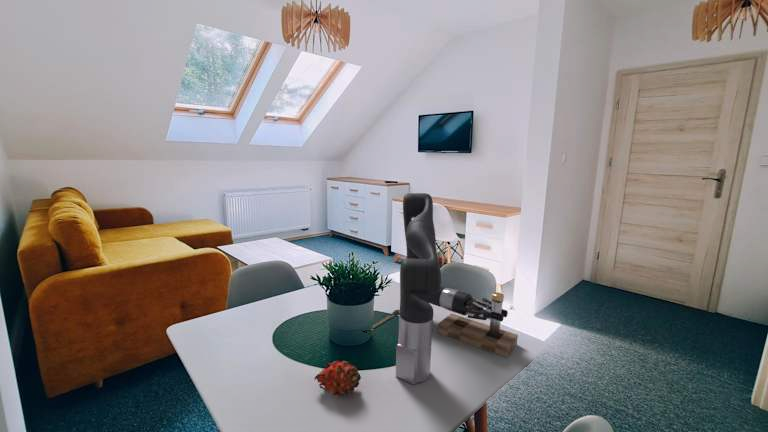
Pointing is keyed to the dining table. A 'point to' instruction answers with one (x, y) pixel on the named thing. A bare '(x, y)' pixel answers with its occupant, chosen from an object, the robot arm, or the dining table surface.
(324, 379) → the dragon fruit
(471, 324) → the stand
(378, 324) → the tomahawk
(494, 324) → the gold-capped metal cylinder
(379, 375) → the dining table surface
